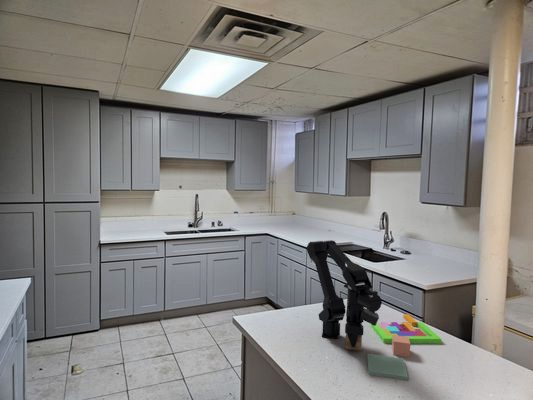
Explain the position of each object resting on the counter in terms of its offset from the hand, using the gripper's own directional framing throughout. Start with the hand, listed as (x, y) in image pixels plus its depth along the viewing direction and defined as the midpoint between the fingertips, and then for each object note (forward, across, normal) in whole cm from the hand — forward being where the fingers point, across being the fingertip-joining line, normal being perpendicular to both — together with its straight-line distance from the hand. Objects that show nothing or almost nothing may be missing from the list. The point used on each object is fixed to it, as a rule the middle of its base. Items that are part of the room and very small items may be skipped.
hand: (353, 343), depth 133 cm
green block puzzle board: (+3, +24, -19) cm, 31 cm away
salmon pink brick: (+2, +3, -17) cm, 17 cm away
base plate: (+2, -10, -11) cm, 15 cm away
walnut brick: (+1, 0, 0) cm, 1 cm away
